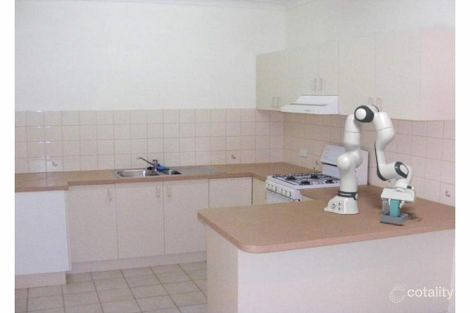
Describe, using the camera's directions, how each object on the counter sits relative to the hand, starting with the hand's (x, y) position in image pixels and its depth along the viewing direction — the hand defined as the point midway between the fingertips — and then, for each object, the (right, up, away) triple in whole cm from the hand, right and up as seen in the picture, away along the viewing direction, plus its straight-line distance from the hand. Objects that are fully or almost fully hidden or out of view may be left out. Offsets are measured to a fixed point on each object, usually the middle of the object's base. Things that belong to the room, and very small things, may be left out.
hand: (394, 207), depth 316 cm
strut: (0, -5, +1) cm, 5 cm away
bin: (0, -10, +2) cm, 10 cm away
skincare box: (+4, -7, +25) cm, 26 cm away
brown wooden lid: (+13, -9, +8) cm, 18 cm away
